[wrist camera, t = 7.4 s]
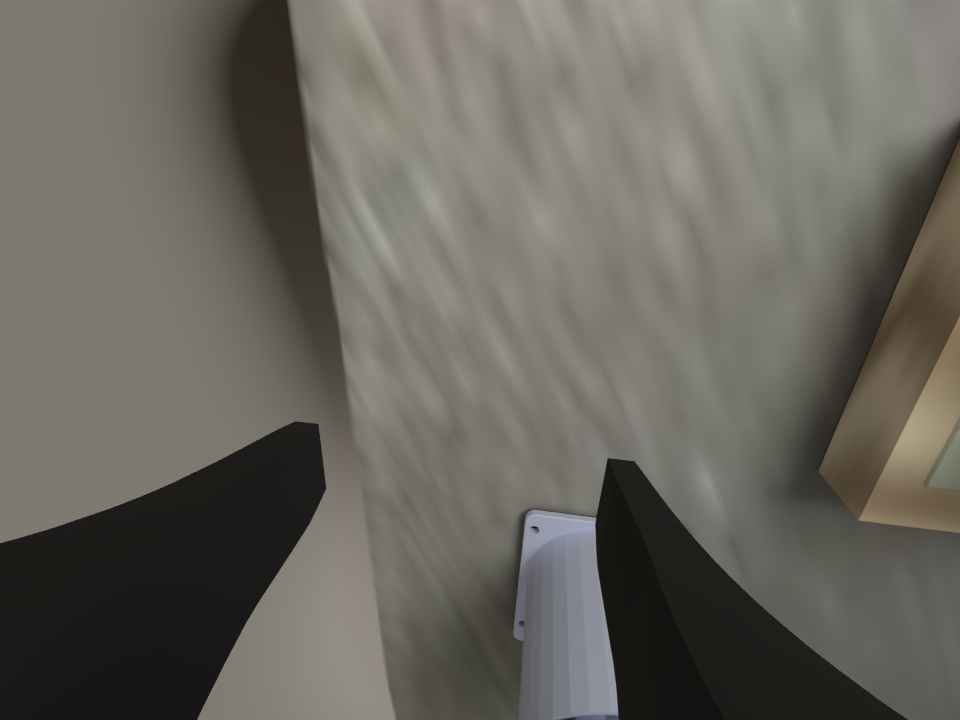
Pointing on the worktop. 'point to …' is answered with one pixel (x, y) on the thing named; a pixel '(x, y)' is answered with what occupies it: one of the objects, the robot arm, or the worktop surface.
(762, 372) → the worktop surface
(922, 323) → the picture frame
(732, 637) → the robot arm
